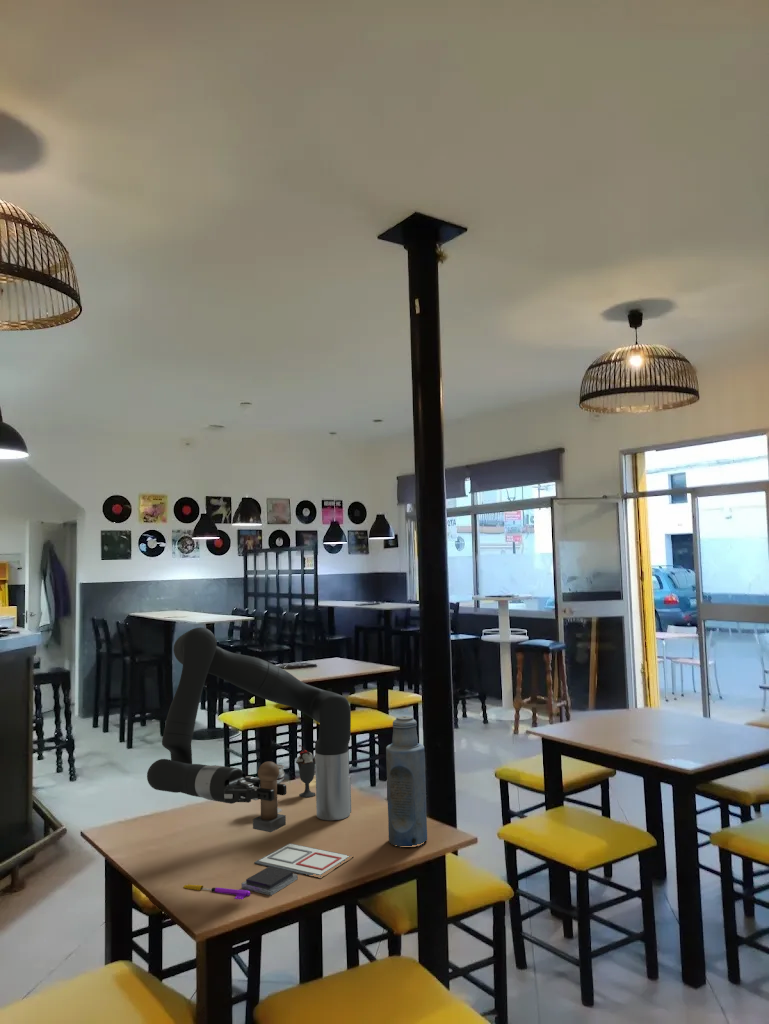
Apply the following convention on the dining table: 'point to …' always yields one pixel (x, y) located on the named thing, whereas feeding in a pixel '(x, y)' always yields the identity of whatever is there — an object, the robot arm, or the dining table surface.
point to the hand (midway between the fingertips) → (279, 792)
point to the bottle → (406, 785)
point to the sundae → (306, 771)
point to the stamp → (269, 809)
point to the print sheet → (302, 859)
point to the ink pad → (269, 880)
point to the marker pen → (221, 891)
